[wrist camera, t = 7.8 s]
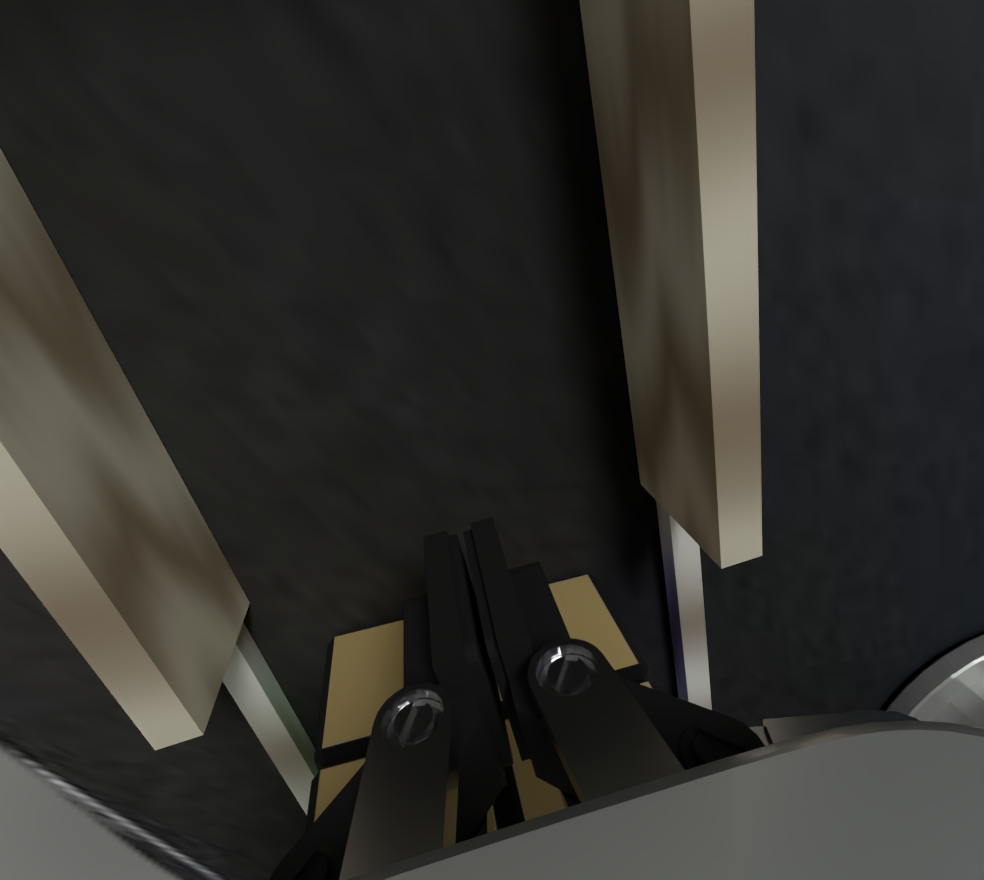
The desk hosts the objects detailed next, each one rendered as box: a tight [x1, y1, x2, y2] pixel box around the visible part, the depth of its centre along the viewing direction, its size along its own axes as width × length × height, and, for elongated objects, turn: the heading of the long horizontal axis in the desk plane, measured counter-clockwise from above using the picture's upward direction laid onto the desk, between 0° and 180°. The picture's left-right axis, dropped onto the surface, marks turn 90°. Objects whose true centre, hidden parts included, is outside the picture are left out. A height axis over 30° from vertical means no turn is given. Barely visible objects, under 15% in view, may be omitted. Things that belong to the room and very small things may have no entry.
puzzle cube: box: [305, 574, 663, 832], centre depth 17 cm, size 10×10×10 cm
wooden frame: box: [0, 0, 762, 815], centre depth 14 cm, size 35×17×5 cm, turn 13°
